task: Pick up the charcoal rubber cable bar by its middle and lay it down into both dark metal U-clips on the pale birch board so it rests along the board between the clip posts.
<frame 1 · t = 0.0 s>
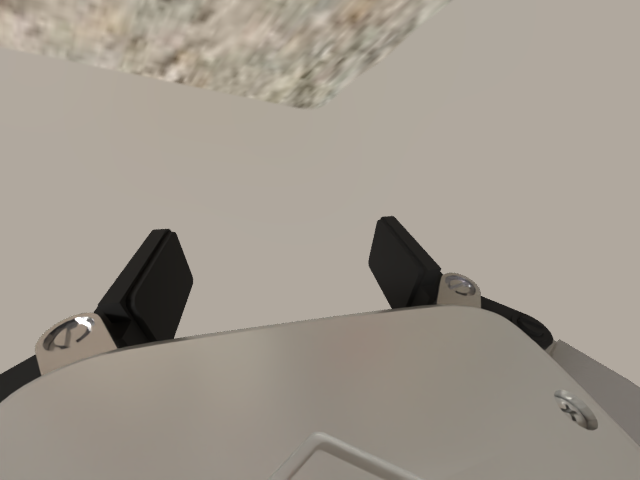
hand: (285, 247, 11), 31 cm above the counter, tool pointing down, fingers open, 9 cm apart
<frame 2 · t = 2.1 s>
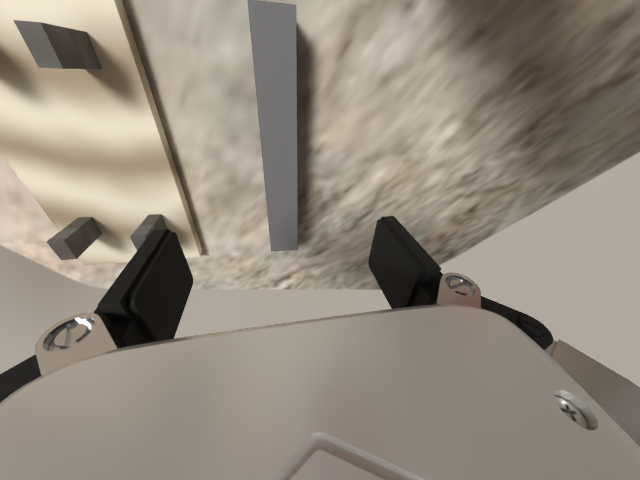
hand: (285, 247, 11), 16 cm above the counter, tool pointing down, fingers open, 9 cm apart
cable bar: (278, 149, 23), on the counter
clip board: (96, 150, 20), on the counter
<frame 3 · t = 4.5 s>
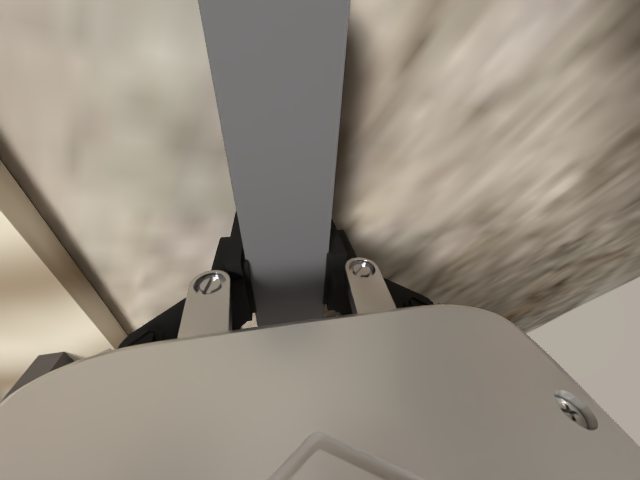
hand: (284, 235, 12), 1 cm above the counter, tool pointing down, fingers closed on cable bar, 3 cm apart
cable bar: (283, 230, 12), on the counter, touching gripper
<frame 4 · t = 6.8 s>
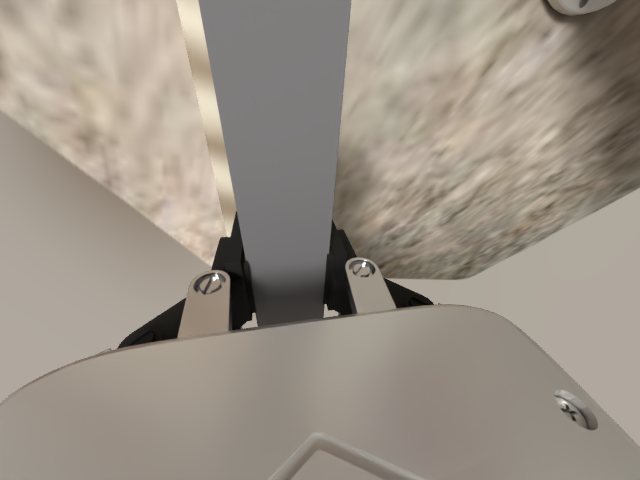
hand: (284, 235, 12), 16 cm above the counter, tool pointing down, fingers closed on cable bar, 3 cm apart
cable bar: (283, 231, 12), point 15 cm above the counter, touching gripper
clip board: (272, 151, 24), on the counter
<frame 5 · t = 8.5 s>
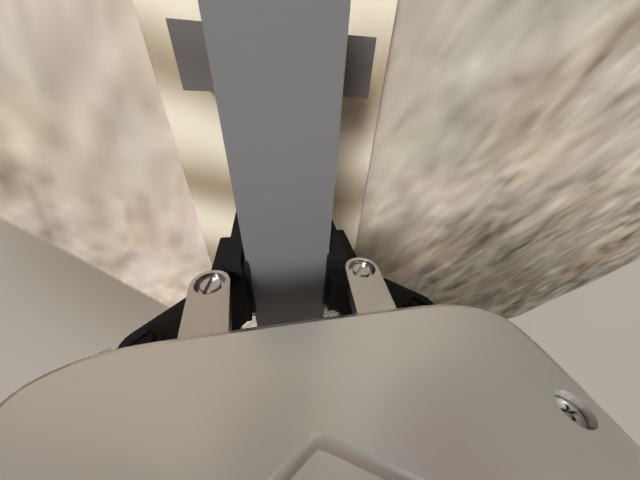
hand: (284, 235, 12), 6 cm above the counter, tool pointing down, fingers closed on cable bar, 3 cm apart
cable bar: (283, 232, 12), point 6 cm above the counter, touching gripper
clip board: (282, 185, 17), on the counter
when the fingers open (3 cm above the counter, at t = 9.8 s): cable bar drops 1 cm, resting on clip board.
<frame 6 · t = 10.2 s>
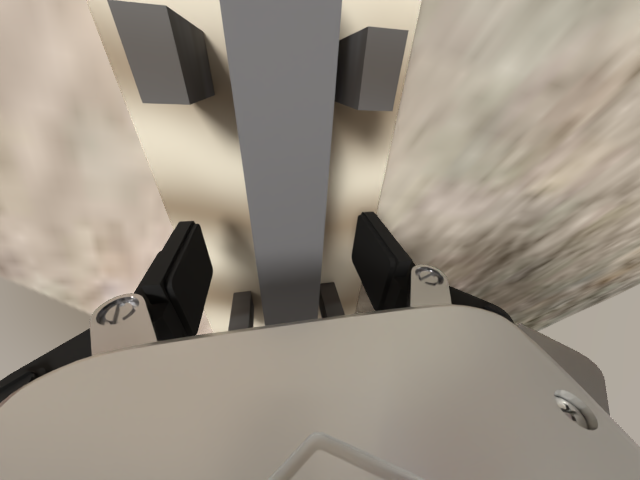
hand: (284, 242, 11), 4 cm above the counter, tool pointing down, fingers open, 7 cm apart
cable bar: (284, 216, 14), point 1 cm above the counter, touching clip board
clip board: (280, 207, 15), on the counter
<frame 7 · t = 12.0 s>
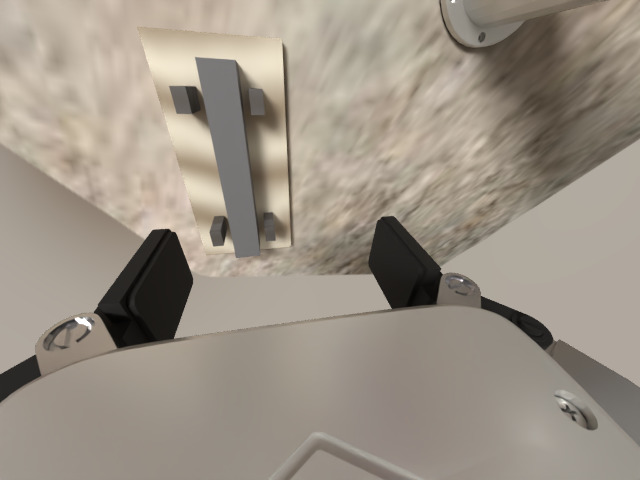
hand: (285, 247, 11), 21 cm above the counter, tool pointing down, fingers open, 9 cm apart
cable bar: (238, 169, 27), point 1 cm above the counter, touching clip board
clip board: (237, 165, 28), on the counter
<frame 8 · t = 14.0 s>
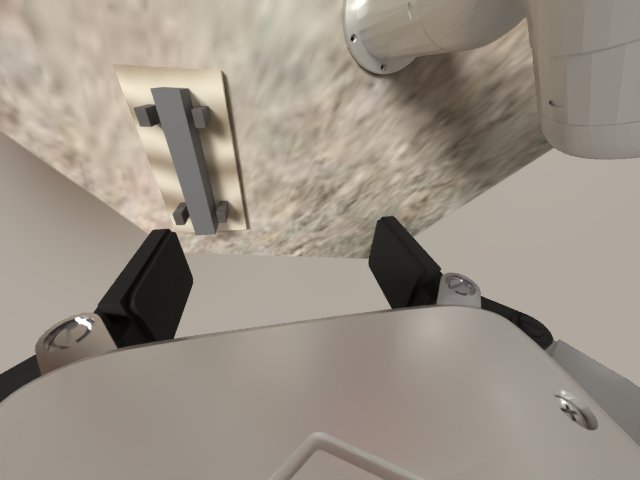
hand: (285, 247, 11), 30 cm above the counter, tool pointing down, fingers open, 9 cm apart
cable bar: (195, 165, 35), point 1 cm above the counter, touching clip board
clip board: (196, 163, 36), on the counter
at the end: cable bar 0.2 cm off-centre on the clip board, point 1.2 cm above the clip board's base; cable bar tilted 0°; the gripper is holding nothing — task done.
